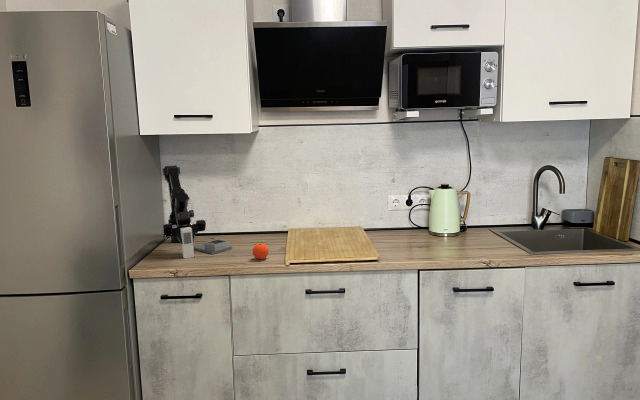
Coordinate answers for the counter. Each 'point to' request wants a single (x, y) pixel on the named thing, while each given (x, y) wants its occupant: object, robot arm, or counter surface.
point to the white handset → (187, 242)
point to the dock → (214, 246)
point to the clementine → (260, 251)
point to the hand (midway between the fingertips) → (187, 242)
